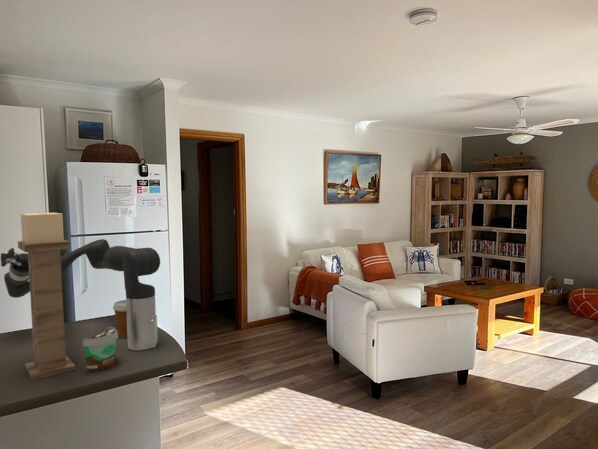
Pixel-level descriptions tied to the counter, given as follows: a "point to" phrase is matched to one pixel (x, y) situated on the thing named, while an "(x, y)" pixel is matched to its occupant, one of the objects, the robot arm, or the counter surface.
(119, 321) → the disposable coffee cup
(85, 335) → the counter surface
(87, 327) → the counter surface
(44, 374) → the walnut stand
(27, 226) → the wooden mallet
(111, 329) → the food container
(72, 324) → the counter surface
